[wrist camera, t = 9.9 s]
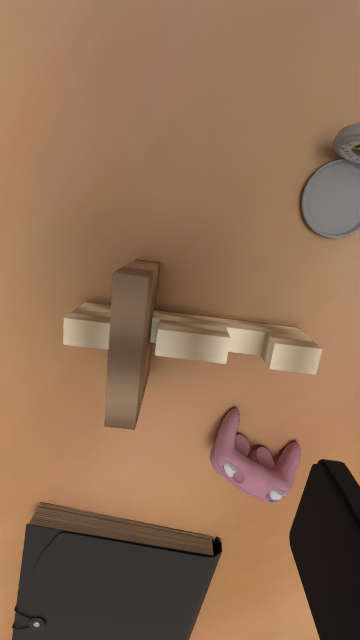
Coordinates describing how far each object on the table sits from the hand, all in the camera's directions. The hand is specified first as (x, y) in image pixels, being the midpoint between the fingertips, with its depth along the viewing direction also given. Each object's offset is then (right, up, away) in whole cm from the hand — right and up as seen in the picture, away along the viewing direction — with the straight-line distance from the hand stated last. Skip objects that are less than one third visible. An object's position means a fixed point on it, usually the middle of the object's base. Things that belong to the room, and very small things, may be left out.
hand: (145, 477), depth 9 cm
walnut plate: (-3, +5, +23) cm, 24 cm away
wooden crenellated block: (+2, +4, +23) cm, 24 cm away
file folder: (-9, -36, +36) cm, 52 cm away
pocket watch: (+16, +17, +19) cm, 30 cm away
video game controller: (+9, -10, +27) cm, 30 cm away
